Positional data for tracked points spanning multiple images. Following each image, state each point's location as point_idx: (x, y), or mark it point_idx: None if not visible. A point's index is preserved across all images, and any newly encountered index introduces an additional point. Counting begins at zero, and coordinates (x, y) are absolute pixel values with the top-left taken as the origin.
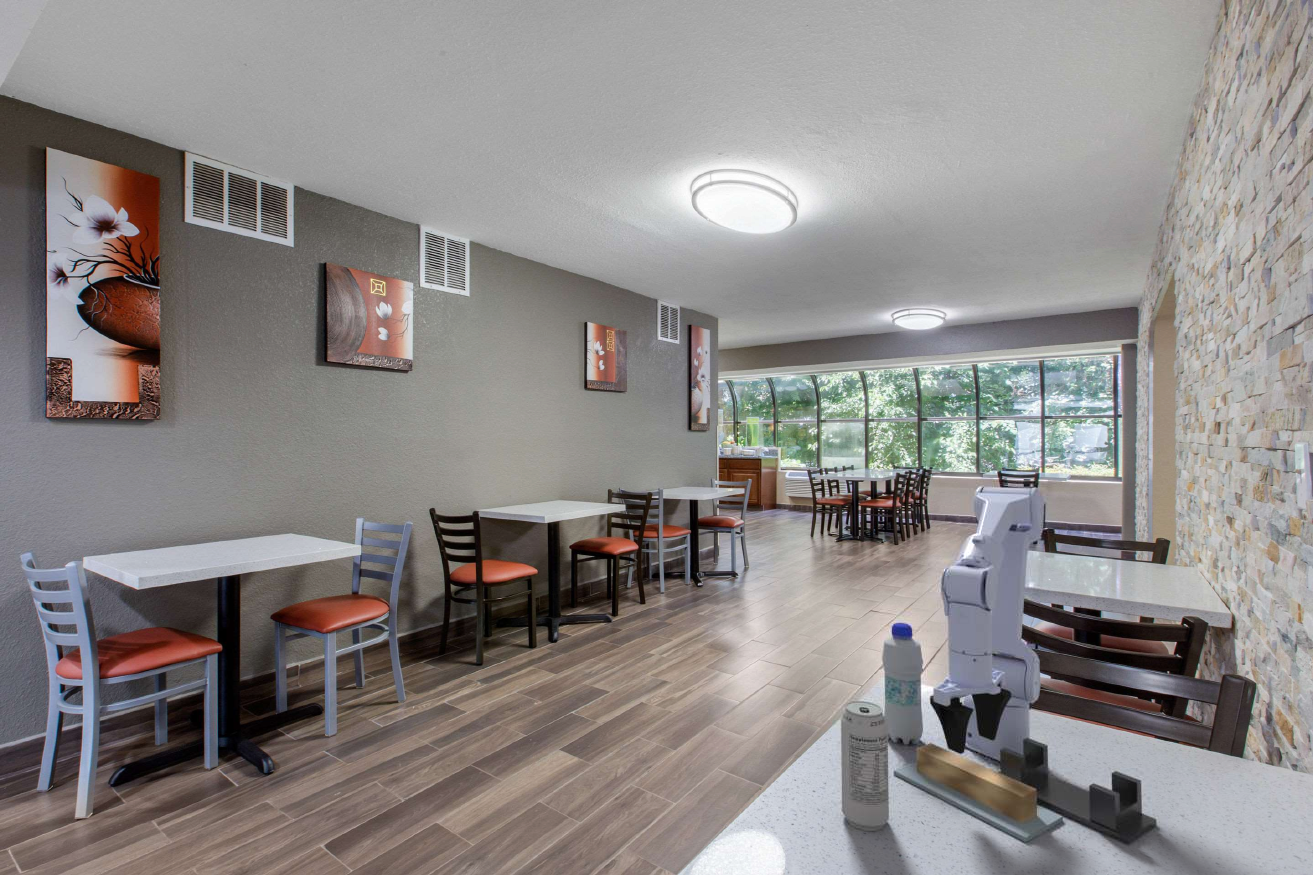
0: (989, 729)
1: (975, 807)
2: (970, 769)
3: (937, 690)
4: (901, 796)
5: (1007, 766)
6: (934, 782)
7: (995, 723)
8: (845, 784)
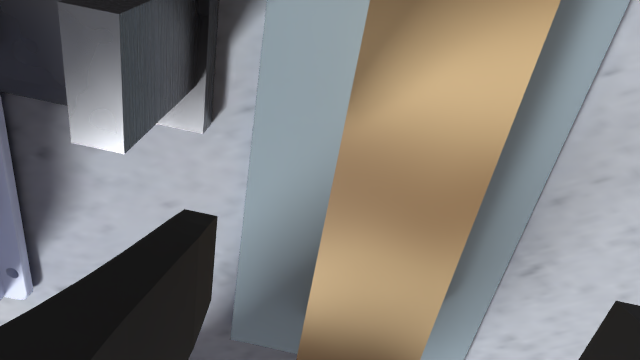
0: (182, 289)
1: (549, 82)
2: (436, 201)
3: None
4: (605, 315)
5: (163, 77)
6: None
7: (145, 300)
8: None
